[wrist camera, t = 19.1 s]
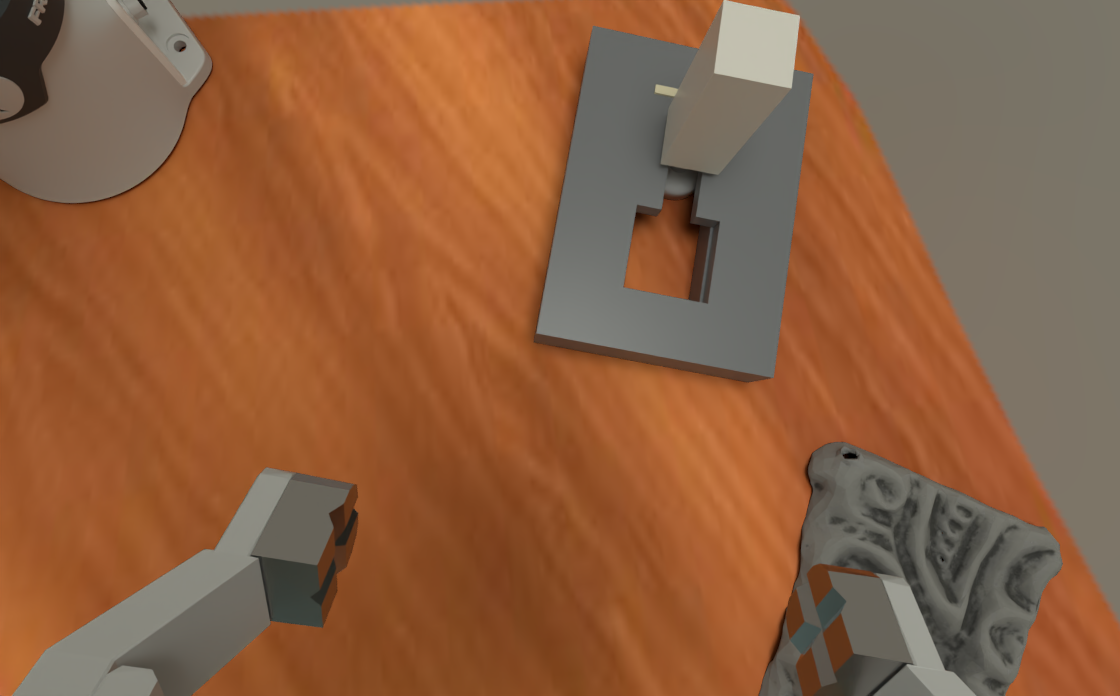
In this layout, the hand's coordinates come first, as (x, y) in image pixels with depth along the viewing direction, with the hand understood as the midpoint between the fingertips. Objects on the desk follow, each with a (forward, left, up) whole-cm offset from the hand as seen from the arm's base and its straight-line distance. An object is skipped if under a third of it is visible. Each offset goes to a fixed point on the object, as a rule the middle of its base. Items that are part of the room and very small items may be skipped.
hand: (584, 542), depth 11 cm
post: (-15, +19, -33) cm, 41 cm away
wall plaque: (+22, +18, -34) cm, 44 cm away
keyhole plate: (-11, +17, -33) cm, 39 cm away
